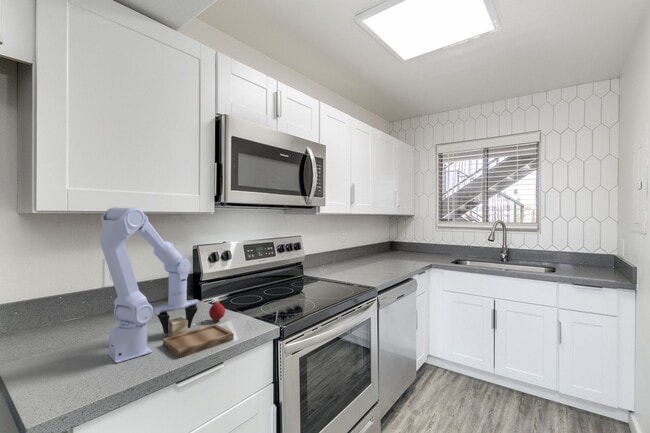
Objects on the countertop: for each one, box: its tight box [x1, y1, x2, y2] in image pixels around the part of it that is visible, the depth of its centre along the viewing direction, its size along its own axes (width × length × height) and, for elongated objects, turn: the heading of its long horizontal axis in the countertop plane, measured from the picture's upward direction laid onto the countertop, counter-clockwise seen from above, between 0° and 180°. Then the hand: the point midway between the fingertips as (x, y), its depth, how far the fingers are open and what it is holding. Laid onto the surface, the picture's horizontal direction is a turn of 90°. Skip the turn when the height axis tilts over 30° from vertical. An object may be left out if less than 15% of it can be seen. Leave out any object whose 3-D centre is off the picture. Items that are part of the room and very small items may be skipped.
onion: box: [208, 300, 226, 322], centre depth 121 cm, size 6×6×8 cm
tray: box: [162, 324, 234, 359], centre depth 101 cm, size 18×12×2 cm, turn 138°
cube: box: [166, 316, 189, 337], centre depth 108 cm, size 5×5×5 cm
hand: (177, 330), depth 108 cm, fingers open, 7 cm apart
